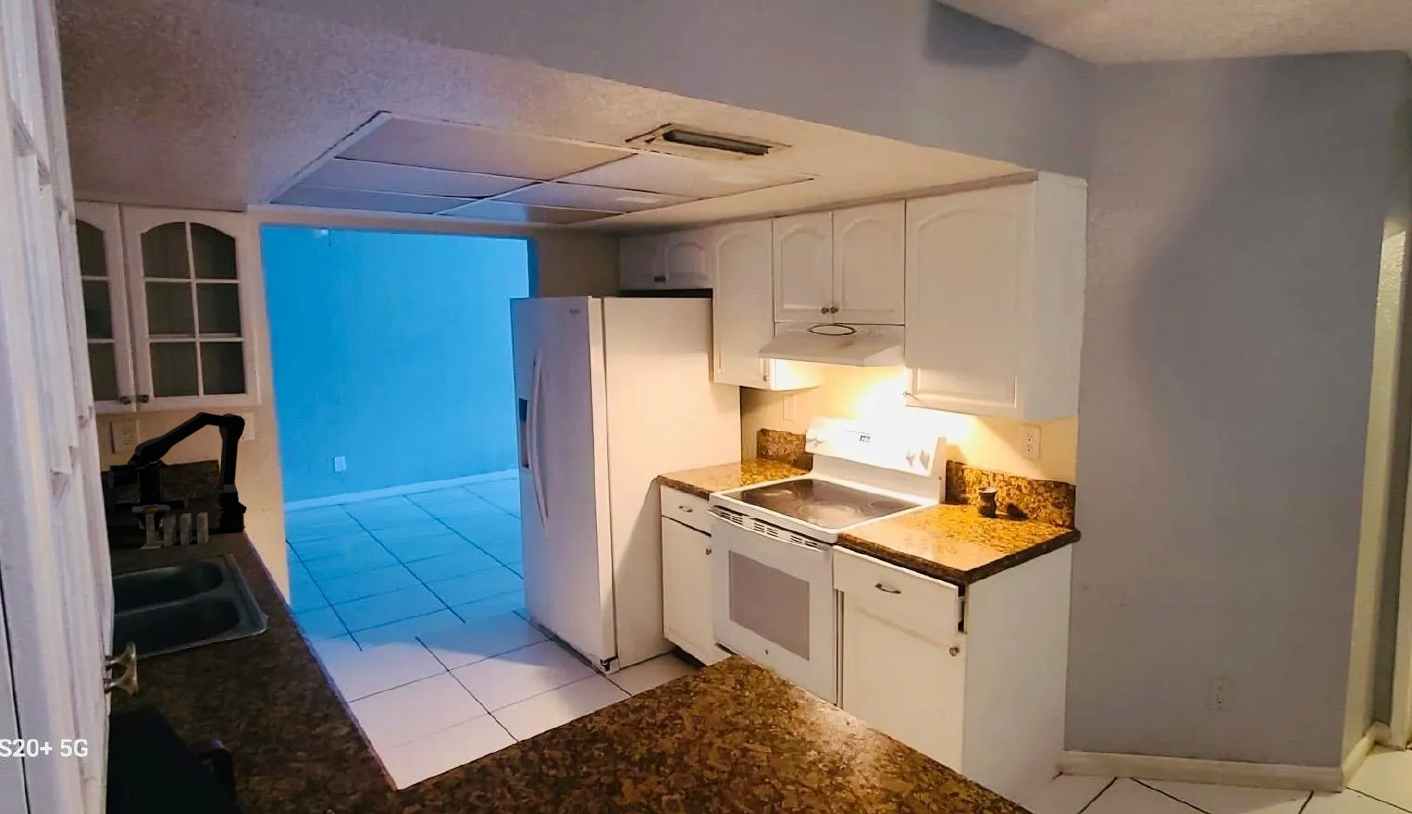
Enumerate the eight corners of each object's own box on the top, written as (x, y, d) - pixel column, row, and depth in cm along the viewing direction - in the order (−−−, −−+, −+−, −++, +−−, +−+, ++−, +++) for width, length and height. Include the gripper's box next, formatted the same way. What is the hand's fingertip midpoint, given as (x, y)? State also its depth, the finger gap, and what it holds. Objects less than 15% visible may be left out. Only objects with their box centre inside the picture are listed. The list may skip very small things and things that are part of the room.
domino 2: (192, 540, 253) (190, 513, 252) (188, 544, 248) (187, 517, 247) (184, 541, 252) (183, 513, 251) (181, 545, 247) (179, 517, 246)
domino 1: (175, 541, 251) (175, 514, 250) (171, 545, 246) (171, 518, 245) (168, 541, 250) (167, 514, 249) (164, 546, 246) (163, 518, 245)
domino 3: (208, 539, 254) (207, 512, 253) (205, 543, 250) (203, 516, 249) (201, 539, 254) (200, 512, 253) (197, 544, 249) (196, 516, 248)
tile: (158, 538, 249) (157, 510, 248) (154, 542, 245) (153, 514, 244) (151, 539, 248) (150, 511, 247) (147, 543, 244) (145, 515, 243)
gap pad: (165, 541, 251) (165, 540, 251) (159, 547, 244) (159, 547, 244) (147, 542, 249) (147, 541, 249) (139, 549, 242) (139, 548, 242)
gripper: (191, 476, 255) (193, 523, 257) (121, 479, 248) (124, 527, 250) (182, 483, 245) (185, 531, 247) (110, 486, 238) (113, 536, 240)
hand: (152, 531), depth 246 cm, fingers closed on tile, 2 cm apart
